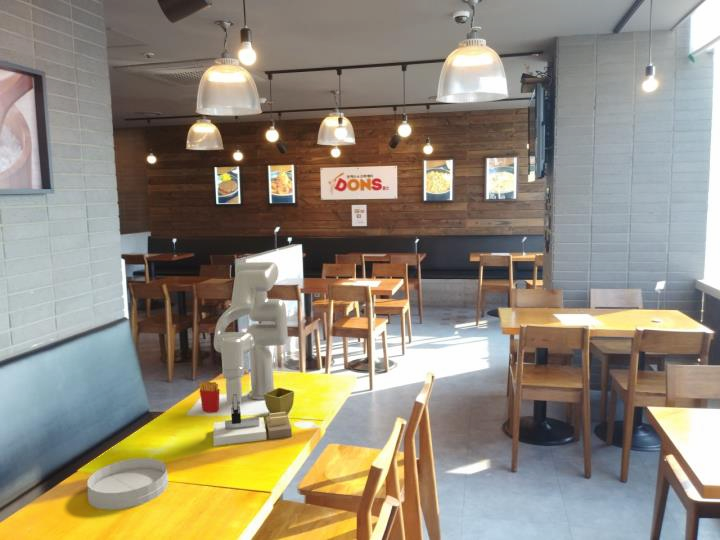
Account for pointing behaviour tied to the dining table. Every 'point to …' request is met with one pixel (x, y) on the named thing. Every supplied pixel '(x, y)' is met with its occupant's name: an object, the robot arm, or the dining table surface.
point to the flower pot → (279, 400)
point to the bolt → (242, 423)
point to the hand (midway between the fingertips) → (236, 420)
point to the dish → (127, 483)
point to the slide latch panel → (254, 430)
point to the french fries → (209, 396)
